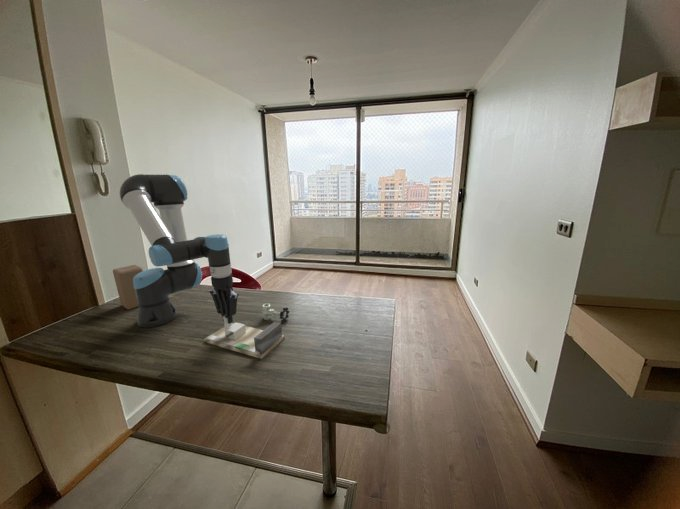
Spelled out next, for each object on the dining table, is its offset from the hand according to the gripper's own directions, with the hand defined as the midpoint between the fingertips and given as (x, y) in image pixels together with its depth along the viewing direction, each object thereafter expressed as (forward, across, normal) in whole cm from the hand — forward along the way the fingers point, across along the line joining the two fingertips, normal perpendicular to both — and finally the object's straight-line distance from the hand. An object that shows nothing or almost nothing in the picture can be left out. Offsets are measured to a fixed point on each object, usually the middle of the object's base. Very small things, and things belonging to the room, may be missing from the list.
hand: (229, 329), depth 106 cm
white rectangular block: (+2, +3, -1) cm, 4 cm away
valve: (+3, +8, +18) cm, 21 cm away
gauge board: (+3, +8, 0) cm, 8 cm away
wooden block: (+3, -69, +4) cm, 69 cm away
